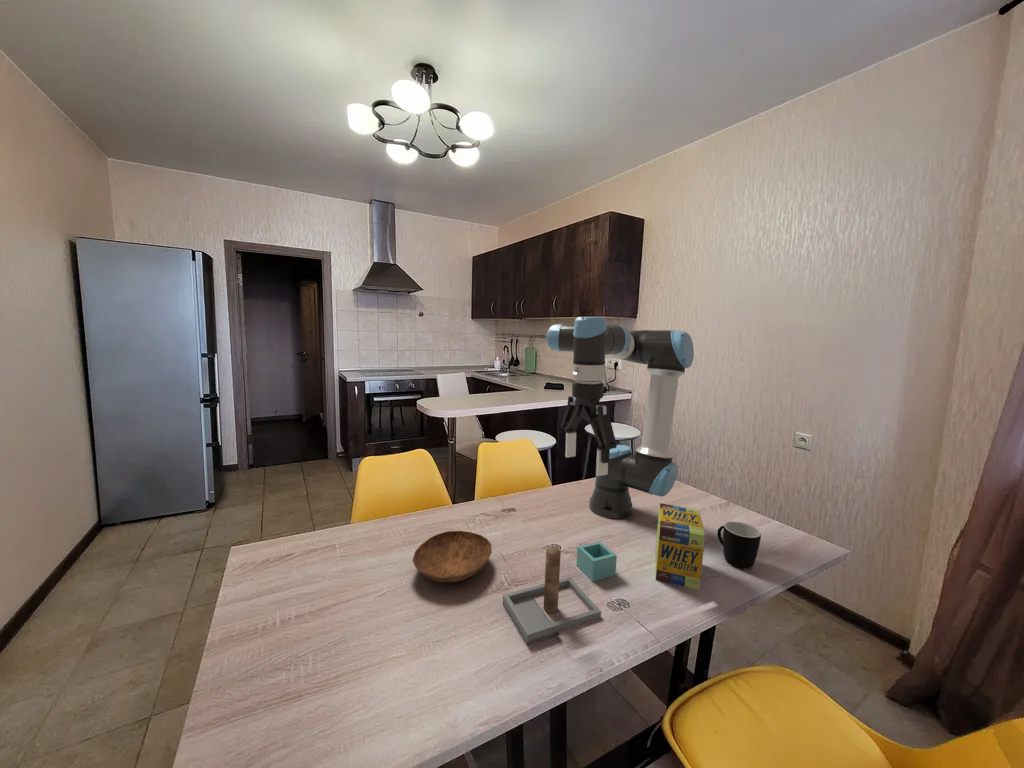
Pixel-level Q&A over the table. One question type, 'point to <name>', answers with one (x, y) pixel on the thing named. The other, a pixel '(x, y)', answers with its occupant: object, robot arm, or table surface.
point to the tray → (534, 619)
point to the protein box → (679, 546)
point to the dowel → (552, 580)
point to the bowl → (452, 556)
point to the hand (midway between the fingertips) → (585, 465)
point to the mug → (739, 544)
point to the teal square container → (596, 561)
